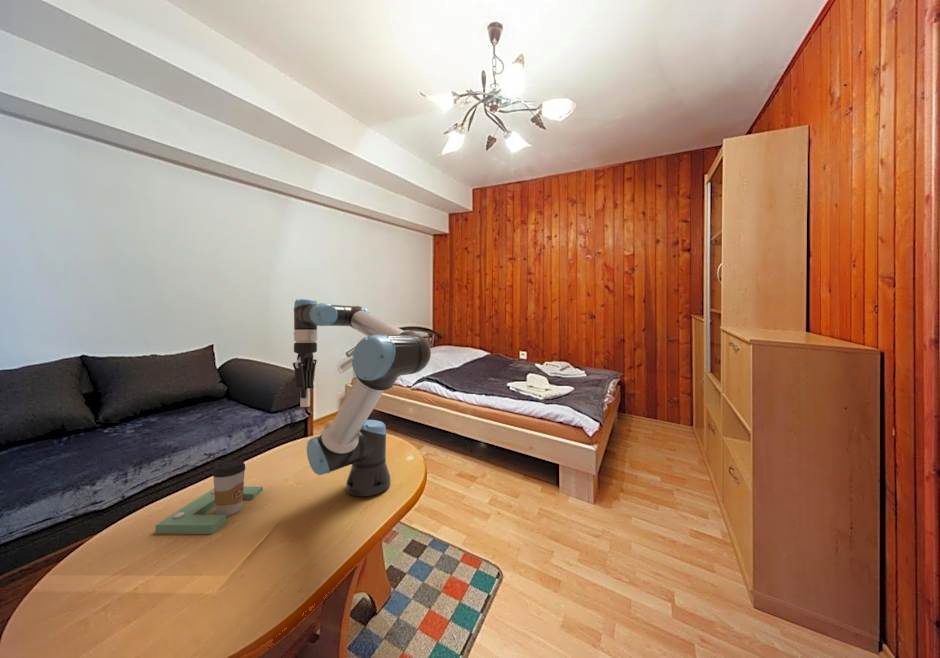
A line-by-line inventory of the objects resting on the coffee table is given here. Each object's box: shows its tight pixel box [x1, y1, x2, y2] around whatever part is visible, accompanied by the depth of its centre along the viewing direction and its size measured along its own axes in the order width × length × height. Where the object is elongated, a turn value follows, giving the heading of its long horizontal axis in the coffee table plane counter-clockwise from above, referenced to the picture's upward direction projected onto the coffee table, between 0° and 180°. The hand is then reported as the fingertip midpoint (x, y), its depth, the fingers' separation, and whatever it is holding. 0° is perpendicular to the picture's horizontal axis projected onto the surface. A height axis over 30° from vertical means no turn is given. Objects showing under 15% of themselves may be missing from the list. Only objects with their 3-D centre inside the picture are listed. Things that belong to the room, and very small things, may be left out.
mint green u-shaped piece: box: [155, 486, 264, 535], centre depth 101 cm, size 16×22×3 cm
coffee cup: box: [212, 458, 246, 518], centre depth 101 cm, size 8×8×15 cm
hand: (305, 406), depth 117 cm, fingers closed
